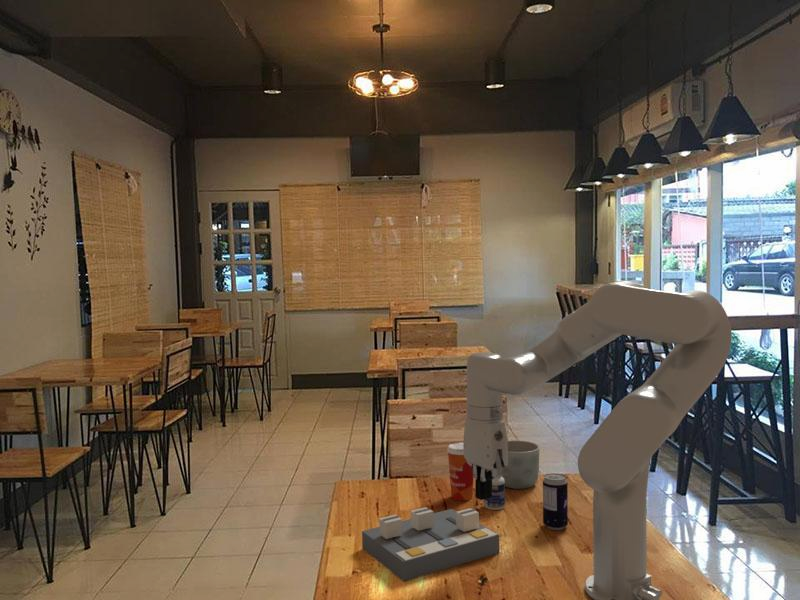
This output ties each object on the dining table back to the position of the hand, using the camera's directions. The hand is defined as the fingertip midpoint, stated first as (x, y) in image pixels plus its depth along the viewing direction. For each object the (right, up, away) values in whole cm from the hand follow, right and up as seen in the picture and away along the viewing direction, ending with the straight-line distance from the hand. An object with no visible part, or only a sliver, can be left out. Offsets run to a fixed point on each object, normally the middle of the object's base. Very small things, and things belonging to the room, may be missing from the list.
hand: (483, 497), depth 142 cm
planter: (+15, -10, +47) cm, 50 cm away
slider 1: (-20, -9, +3) cm, 22 cm away
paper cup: (-1, -11, +37) cm, 39 cm away
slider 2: (-13, -9, +7) cm, 17 cm away
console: (-11, -13, +5) cm, 18 cm away
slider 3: (-3, -9, +6) cm, 11 cm away
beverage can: (+19, -12, +17) cm, 28 cm away
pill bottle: (+7, -12, +30) cm, 33 cm away
